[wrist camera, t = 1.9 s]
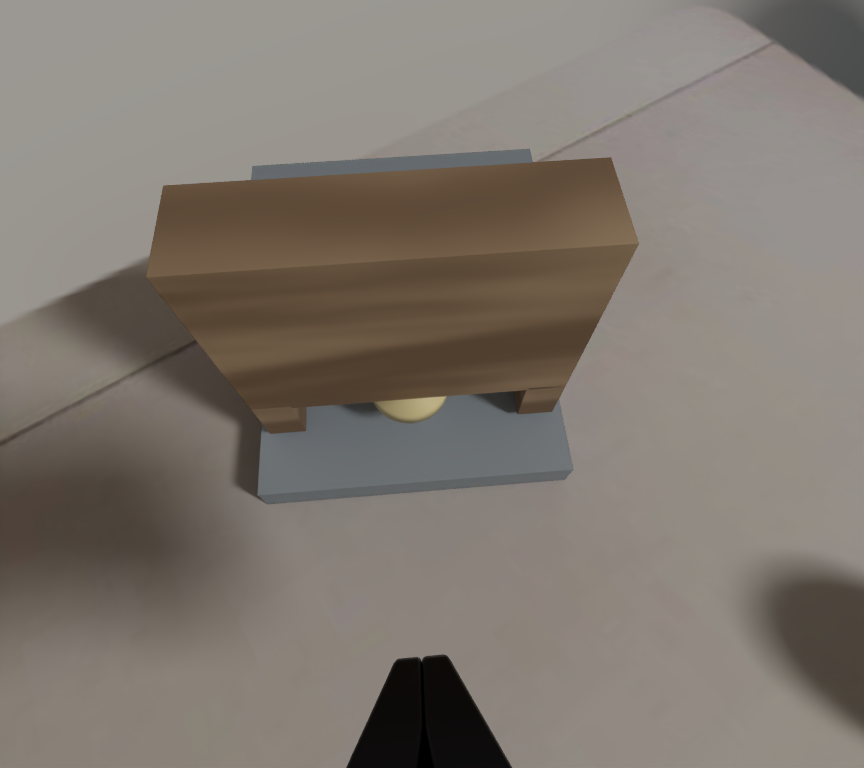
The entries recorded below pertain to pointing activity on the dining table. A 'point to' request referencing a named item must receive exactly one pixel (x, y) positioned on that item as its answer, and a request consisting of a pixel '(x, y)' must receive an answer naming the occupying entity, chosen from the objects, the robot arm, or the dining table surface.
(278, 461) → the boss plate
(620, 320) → the dining table surface
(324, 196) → the panel
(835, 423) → the dining table surface
